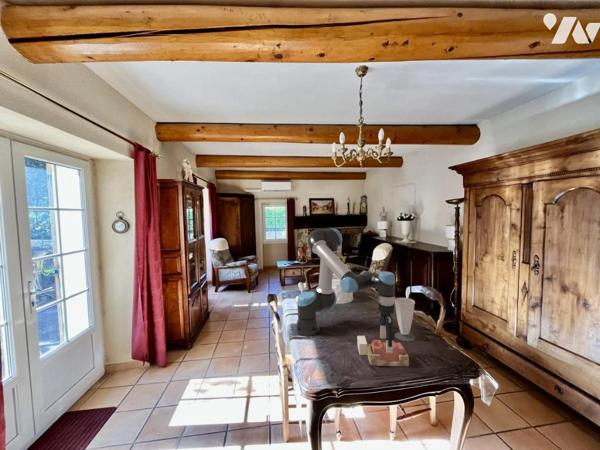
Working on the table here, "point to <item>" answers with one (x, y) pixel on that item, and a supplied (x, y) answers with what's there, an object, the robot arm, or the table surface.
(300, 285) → the potted plant
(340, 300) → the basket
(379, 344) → the red notched block
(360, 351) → the white block
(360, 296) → the table surface
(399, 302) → the cup
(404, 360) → the cradle
